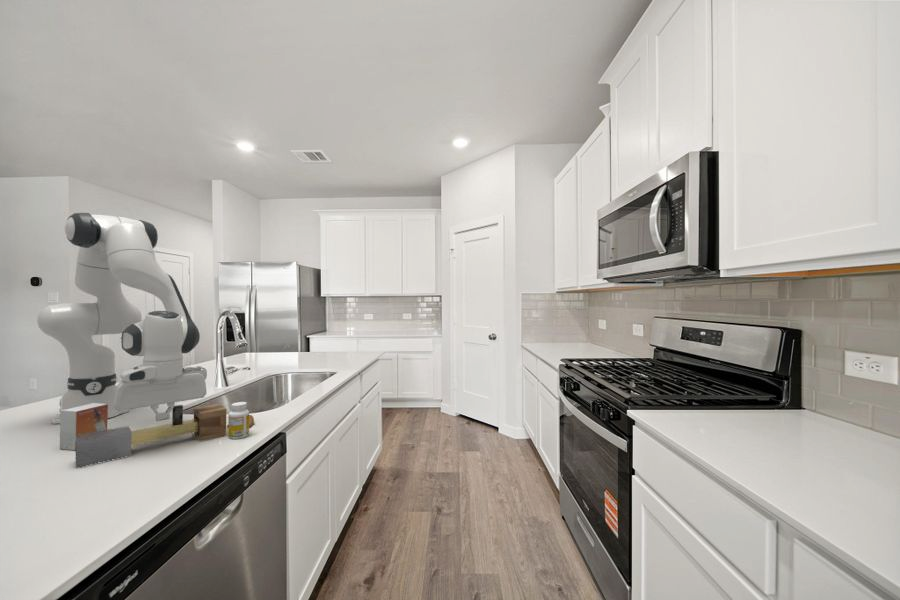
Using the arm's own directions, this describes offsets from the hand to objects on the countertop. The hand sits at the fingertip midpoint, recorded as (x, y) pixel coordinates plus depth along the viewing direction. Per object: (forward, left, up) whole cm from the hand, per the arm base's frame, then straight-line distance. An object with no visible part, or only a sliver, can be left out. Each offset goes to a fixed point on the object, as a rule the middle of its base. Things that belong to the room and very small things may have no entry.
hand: (162, 419), depth 103 cm
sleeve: (0, -12, -7) cm, 14 cm away
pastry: (-3, +21, -8) cm, 22 cm away
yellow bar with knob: (0, +1, -5) cm, 5 cm away
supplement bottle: (+7, +17, -7) cm, 20 cm away
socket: (0, +11, -7) cm, 13 cm away
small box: (-16, -15, -7) cm, 23 cm away
